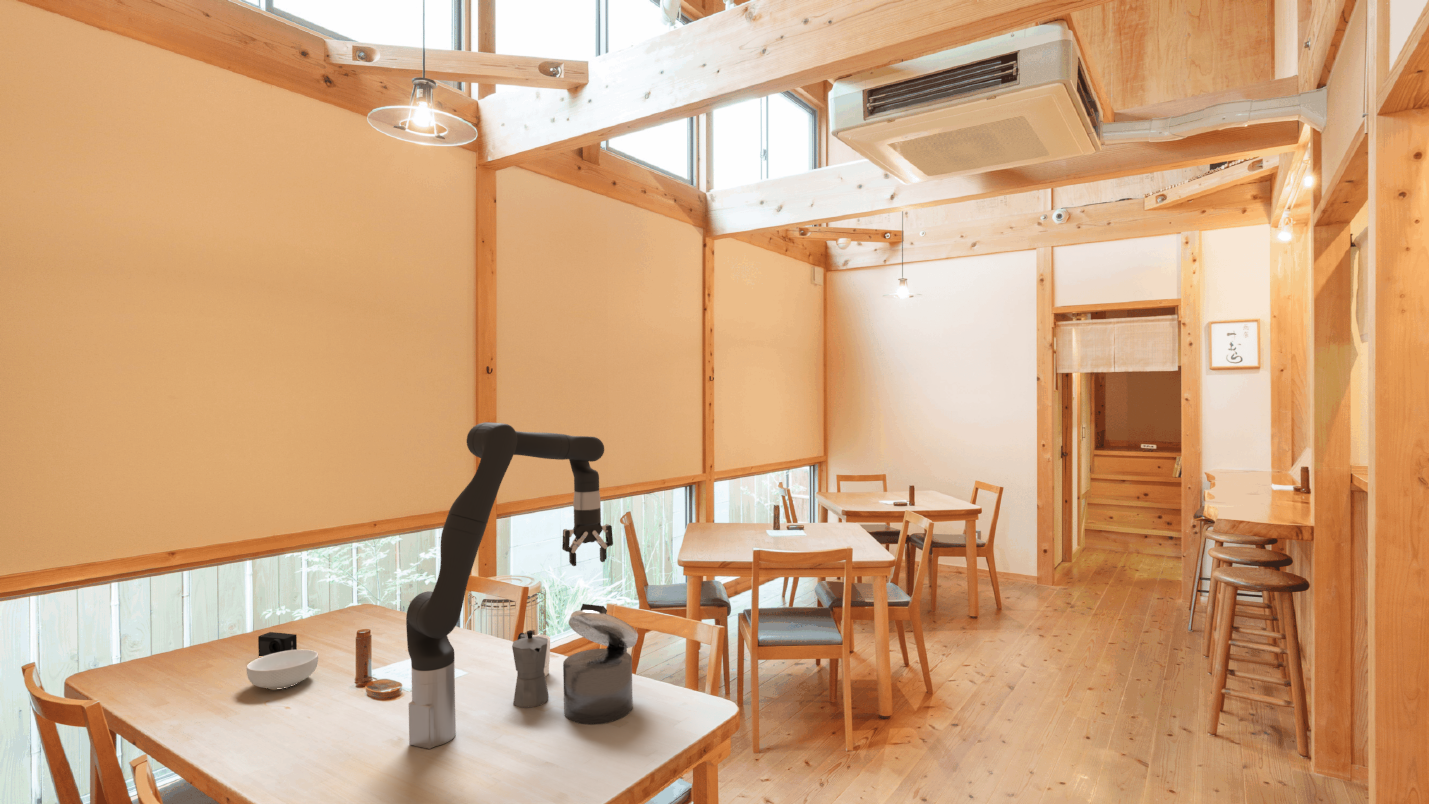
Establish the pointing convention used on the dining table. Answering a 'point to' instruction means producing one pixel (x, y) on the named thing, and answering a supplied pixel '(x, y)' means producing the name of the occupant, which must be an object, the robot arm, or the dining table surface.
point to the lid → (602, 627)
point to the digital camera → (276, 643)
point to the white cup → (546, 668)
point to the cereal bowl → (282, 668)
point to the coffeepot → (530, 670)
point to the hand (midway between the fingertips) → (588, 563)
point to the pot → (598, 685)
